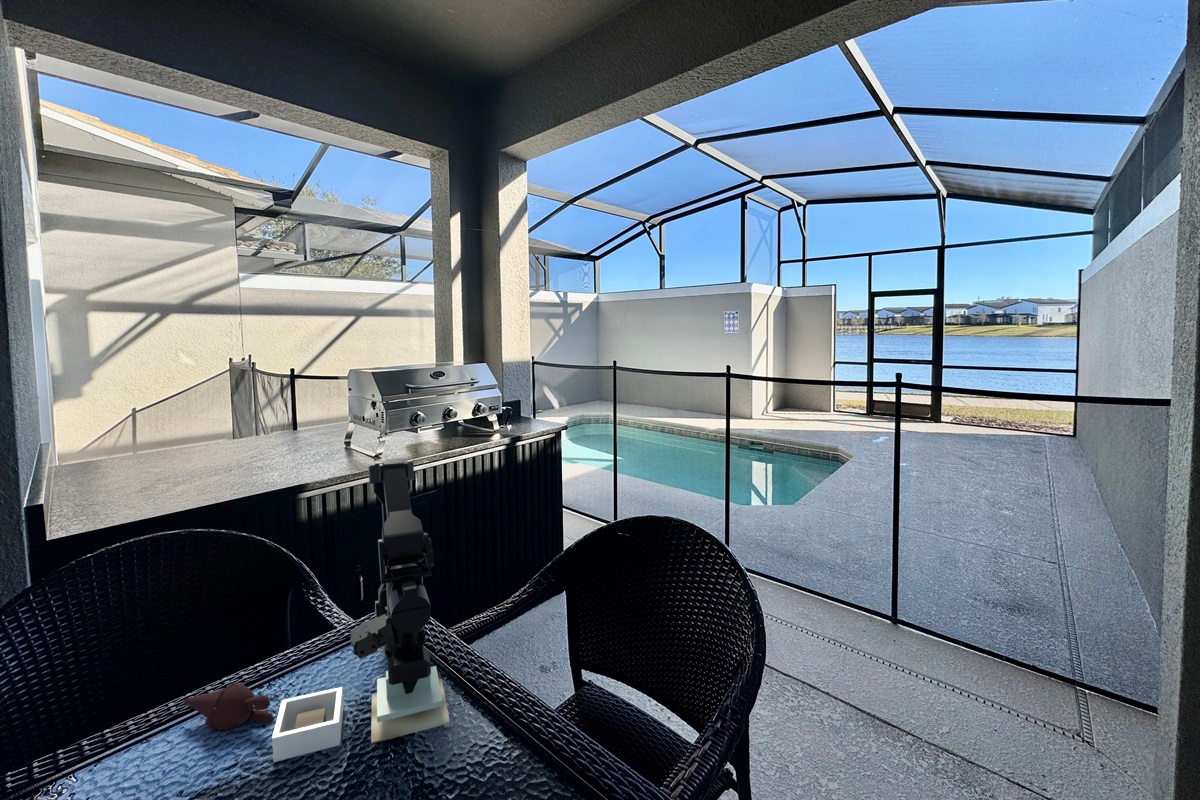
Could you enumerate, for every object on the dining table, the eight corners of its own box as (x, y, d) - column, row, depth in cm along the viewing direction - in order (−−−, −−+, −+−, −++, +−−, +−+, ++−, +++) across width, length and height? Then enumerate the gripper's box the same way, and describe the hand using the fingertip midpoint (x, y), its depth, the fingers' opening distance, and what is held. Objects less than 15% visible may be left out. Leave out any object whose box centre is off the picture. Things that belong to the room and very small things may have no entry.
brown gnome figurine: (160, 705, 83) (252, 718, 82) (197, 666, 90) (282, 677, 89) (170, 735, 86) (259, 748, 85) (206, 695, 93) (288, 706, 92)
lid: (377, 688, 94) (376, 660, 93) (436, 674, 97) (435, 648, 97) (377, 727, 84) (376, 696, 84) (442, 710, 88) (441, 681, 88)
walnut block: (298, 727, 86) (297, 713, 86) (325, 721, 88) (325, 707, 88) (295, 745, 83) (294, 730, 82) (323, 738, 84) (322, 723, 84)
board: (372, 698, 94) (371, 694, 94) (441, 682, 99) (441, 678, 99) (371, 746, 83) (371, 742, 83) (449, 726, 88) (449, 721, 88)
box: (283, 725, 88) (281, 700, 87) (343, 710, 91) (342, 686, 91) (273, 765, 80) (271, 738, 79) (340, 748, 83) (338, 722, 82)
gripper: (354, 585, 94) (358, 667, 96) (349, 641, 77) (354, 739, 79) (420, 575, 98) (423, 653, 100) (429, 626, 81) (432, 719, 83)
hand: (408, 687), depth 91 cm, fingers closed on lid, 2 cm apart
